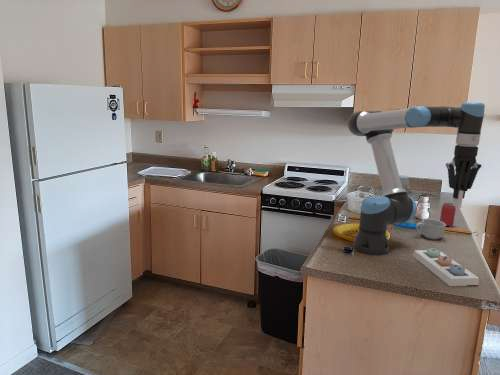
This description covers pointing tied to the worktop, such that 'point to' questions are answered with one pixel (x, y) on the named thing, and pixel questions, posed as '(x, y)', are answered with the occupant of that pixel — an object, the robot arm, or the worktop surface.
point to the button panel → (445, 270)
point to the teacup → (431, 228)
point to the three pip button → (444, 261)
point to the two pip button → (457, 270)
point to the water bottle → (404, 182)
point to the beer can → (448, 214)
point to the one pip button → (433, 253)
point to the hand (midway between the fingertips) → (456, 206)
